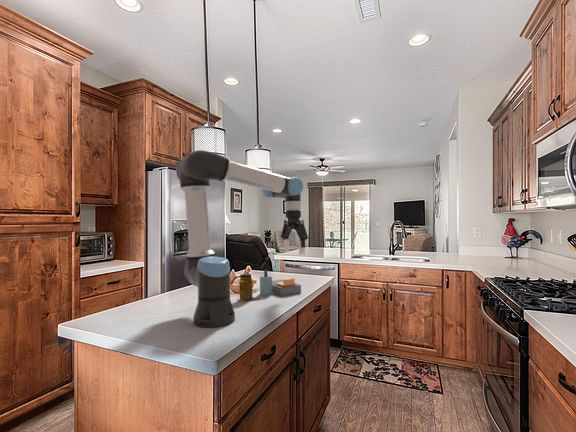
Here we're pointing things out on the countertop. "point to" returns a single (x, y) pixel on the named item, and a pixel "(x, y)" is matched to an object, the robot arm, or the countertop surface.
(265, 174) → the robot arm
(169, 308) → the countertop surface
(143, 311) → the countertop surface
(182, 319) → the countertop surface
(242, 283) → the condiment
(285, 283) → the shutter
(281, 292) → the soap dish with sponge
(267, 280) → the light blue bottle
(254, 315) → the countertop surface
